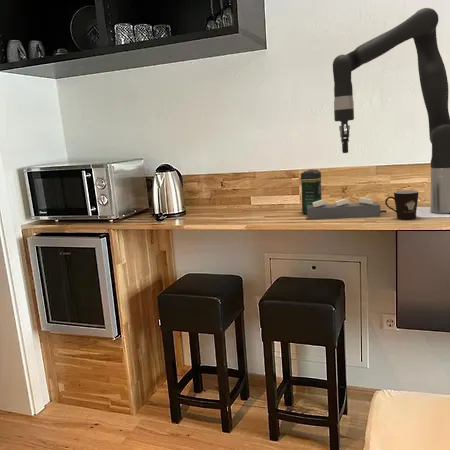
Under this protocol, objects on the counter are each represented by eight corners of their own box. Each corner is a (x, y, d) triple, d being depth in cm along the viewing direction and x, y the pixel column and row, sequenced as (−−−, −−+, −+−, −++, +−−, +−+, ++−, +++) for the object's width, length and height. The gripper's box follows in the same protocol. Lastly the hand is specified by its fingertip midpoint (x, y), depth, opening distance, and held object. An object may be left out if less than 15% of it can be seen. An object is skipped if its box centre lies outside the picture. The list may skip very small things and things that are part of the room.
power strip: (384, 212, 195) (384, 200, 194) (387, 216, 187) (387, 203, 186) (307, 216, 201) (307, 204, 200) (307, 219, 193) (306, 207, 192)
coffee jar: (318, 215, 201) (316, 170, 198) (300, 215, 205) (298, 171, 201) (324, 211, 210) (322, 168, 206) (307, 211, 213) (304, 168, 210)
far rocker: (326, 202, 195) (325, 198, 194) (326, 203, 191) (325, 199, 191) (313, 206, 196) (312, 202, 196) (313, 207, 192) (312, 203, 192)
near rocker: (371, 203, 192) (372, 199, 191) (372, 204, 188) (373, 200, 188) (358, 200, 192) (359, 196, 192) (359, 202, 189) (360, 197, 188)
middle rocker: (349, 201, 193) (348, 197, 193) (349, 202, 189) (348, 198, 189) (336, 204, 194) (335, 201, 194) (336, 206, 191) (335, 202, 190)
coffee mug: (418, 216, 183) (418, 189, 181) (419, 220, 175) (419, 193, 173) (385, 216, 187) (385, 191, 185) (385, 221, 179) (385, 194, 177)
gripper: (355, 107, 183) (356, 153, 186) (352, 108, 196) (353, 151, 199) (334, 108, 184) (336, 154, 187) (333, 109, 197) (334, 152, 200)
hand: (345, 152), depth 193 cm, fingers closed
